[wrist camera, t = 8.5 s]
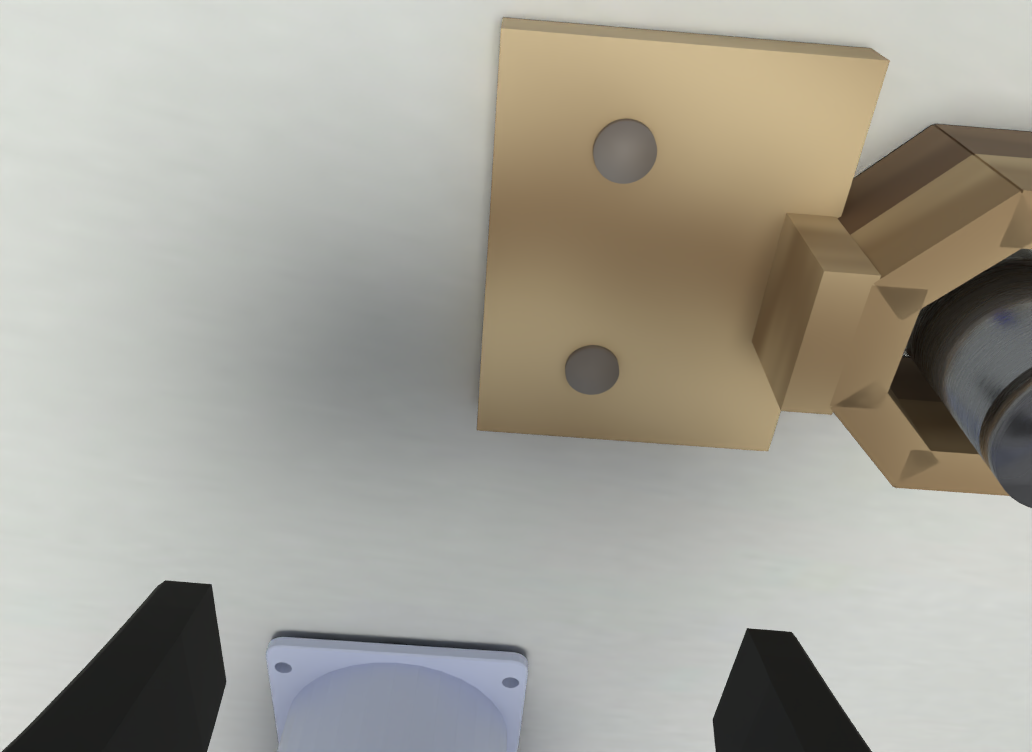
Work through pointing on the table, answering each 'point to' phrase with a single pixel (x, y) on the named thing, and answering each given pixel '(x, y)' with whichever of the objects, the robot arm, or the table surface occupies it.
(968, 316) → the grey cylinder
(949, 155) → the hinge plate
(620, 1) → the table surface
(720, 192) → the hinge leaf
